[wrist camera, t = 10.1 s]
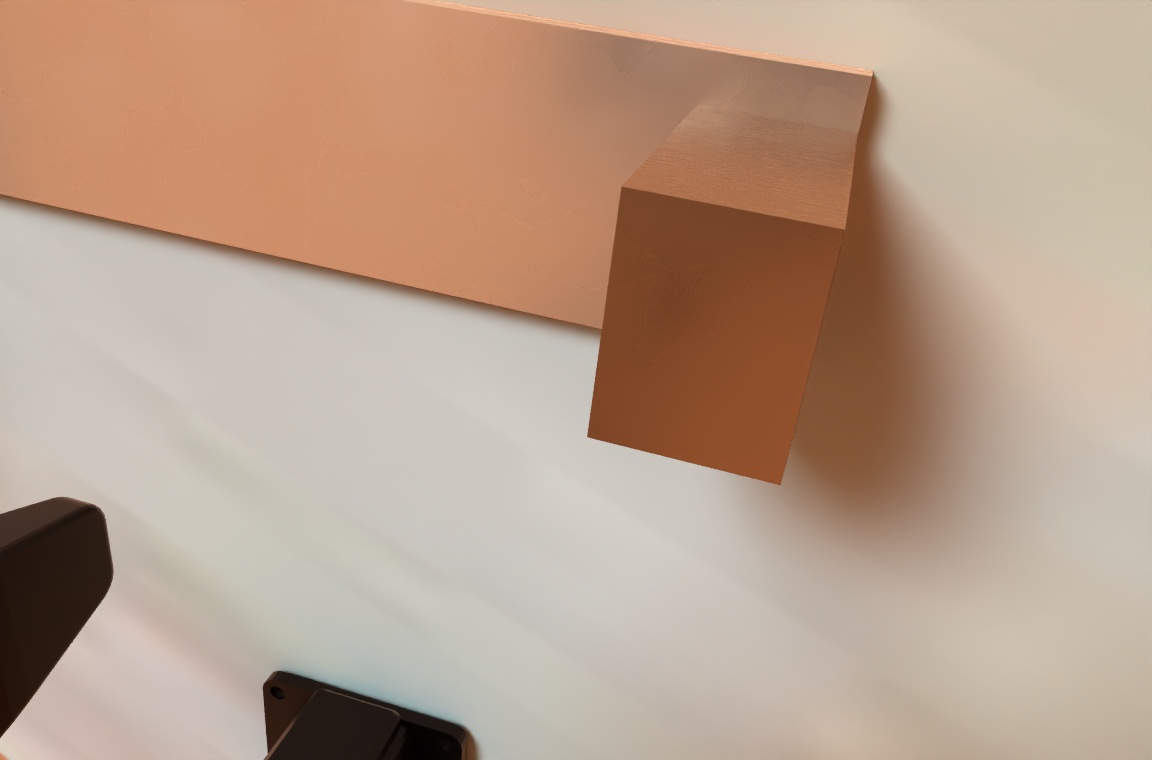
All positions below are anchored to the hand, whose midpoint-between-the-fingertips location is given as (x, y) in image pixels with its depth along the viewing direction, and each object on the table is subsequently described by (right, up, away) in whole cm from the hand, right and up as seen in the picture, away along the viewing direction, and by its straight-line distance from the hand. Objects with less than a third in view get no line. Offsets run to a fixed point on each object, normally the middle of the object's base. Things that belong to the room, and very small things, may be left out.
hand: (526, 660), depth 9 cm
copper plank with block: (-6, +9, +13) cm, 17 cm away
